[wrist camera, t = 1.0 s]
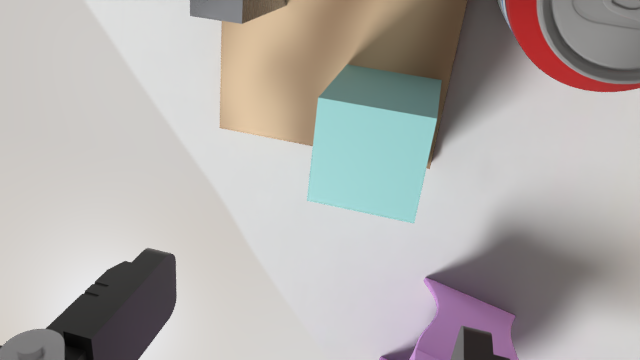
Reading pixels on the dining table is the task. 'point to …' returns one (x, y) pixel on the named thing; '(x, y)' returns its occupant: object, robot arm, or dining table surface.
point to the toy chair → (461, 324)
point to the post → (234, 9)
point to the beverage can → (580, 40)
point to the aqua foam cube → (373, 141)
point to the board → (328, 57)
